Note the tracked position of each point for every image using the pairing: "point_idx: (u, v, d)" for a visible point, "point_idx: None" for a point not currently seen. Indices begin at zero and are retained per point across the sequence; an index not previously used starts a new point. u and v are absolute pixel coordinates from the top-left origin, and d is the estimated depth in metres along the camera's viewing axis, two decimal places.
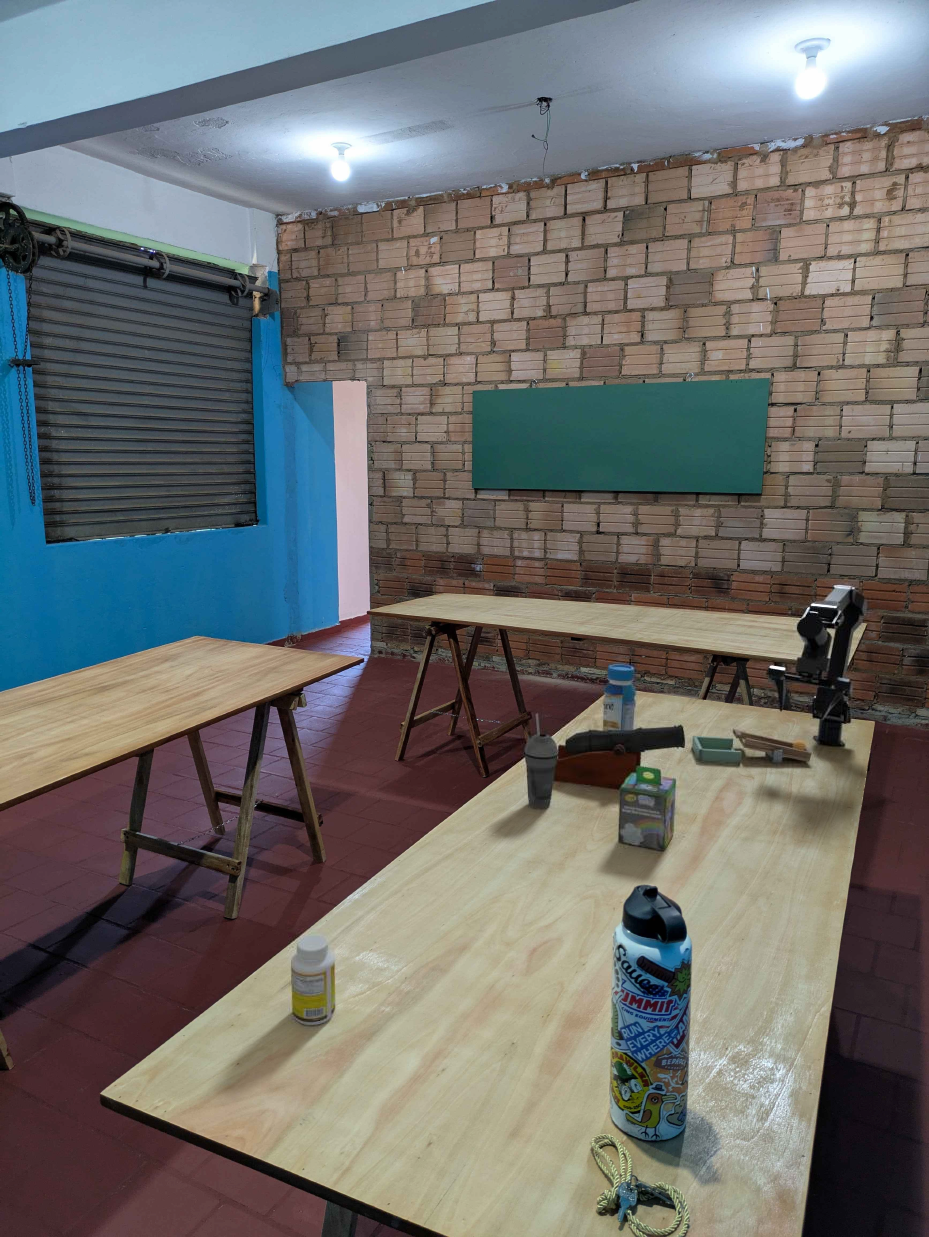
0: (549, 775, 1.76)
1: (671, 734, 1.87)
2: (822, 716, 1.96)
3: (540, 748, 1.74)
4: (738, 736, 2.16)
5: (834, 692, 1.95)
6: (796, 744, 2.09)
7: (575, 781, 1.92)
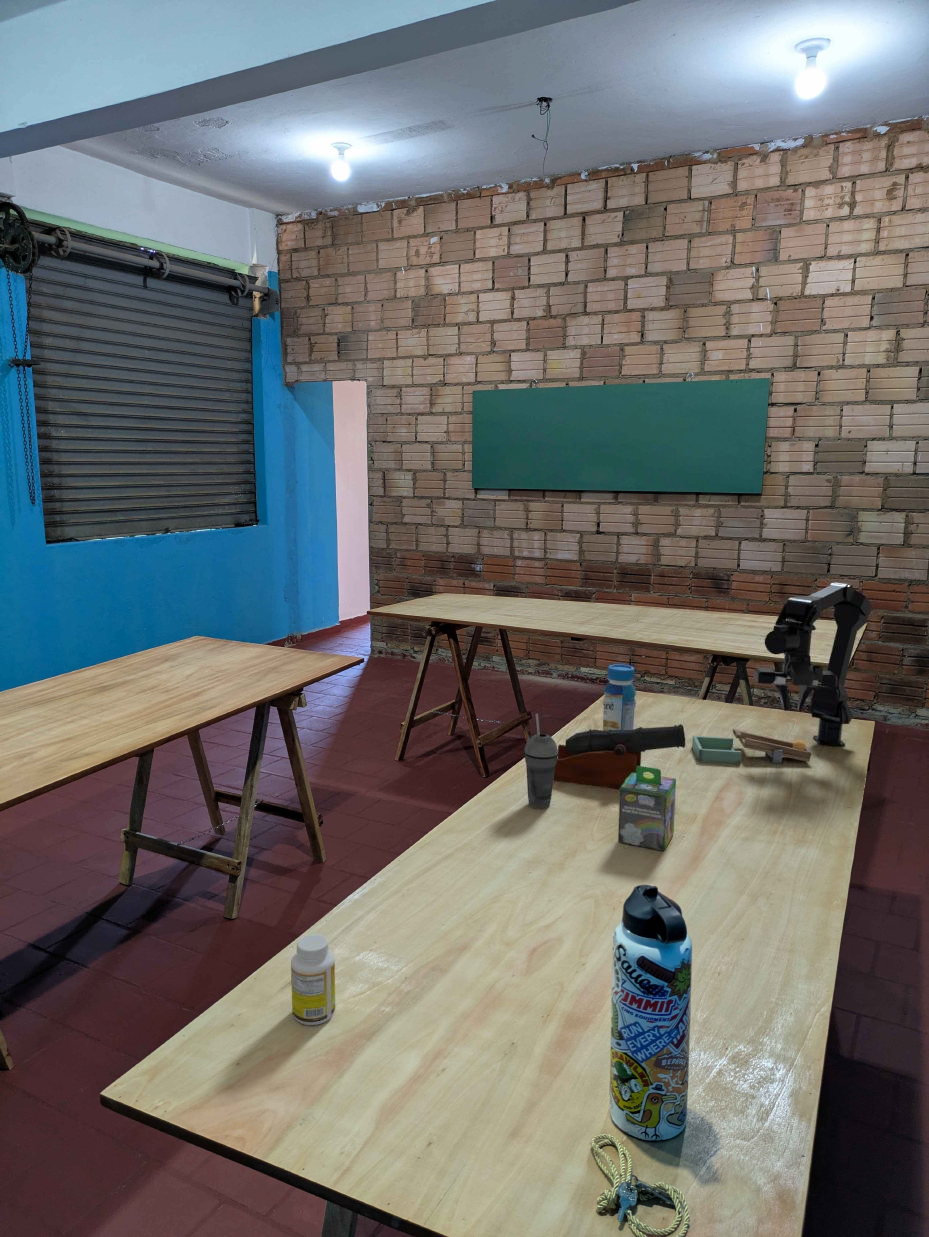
0: (549, 775, 1.76)
1: (672, 734, 1.87)
2: (800, 709, 2.10)
3: (540, 748, 1.74)
4: (738, 736, 2.16)
5: (811, 689, 2.07)
6: (796, 744, 2.09)
7: (576, 781, 1.92)
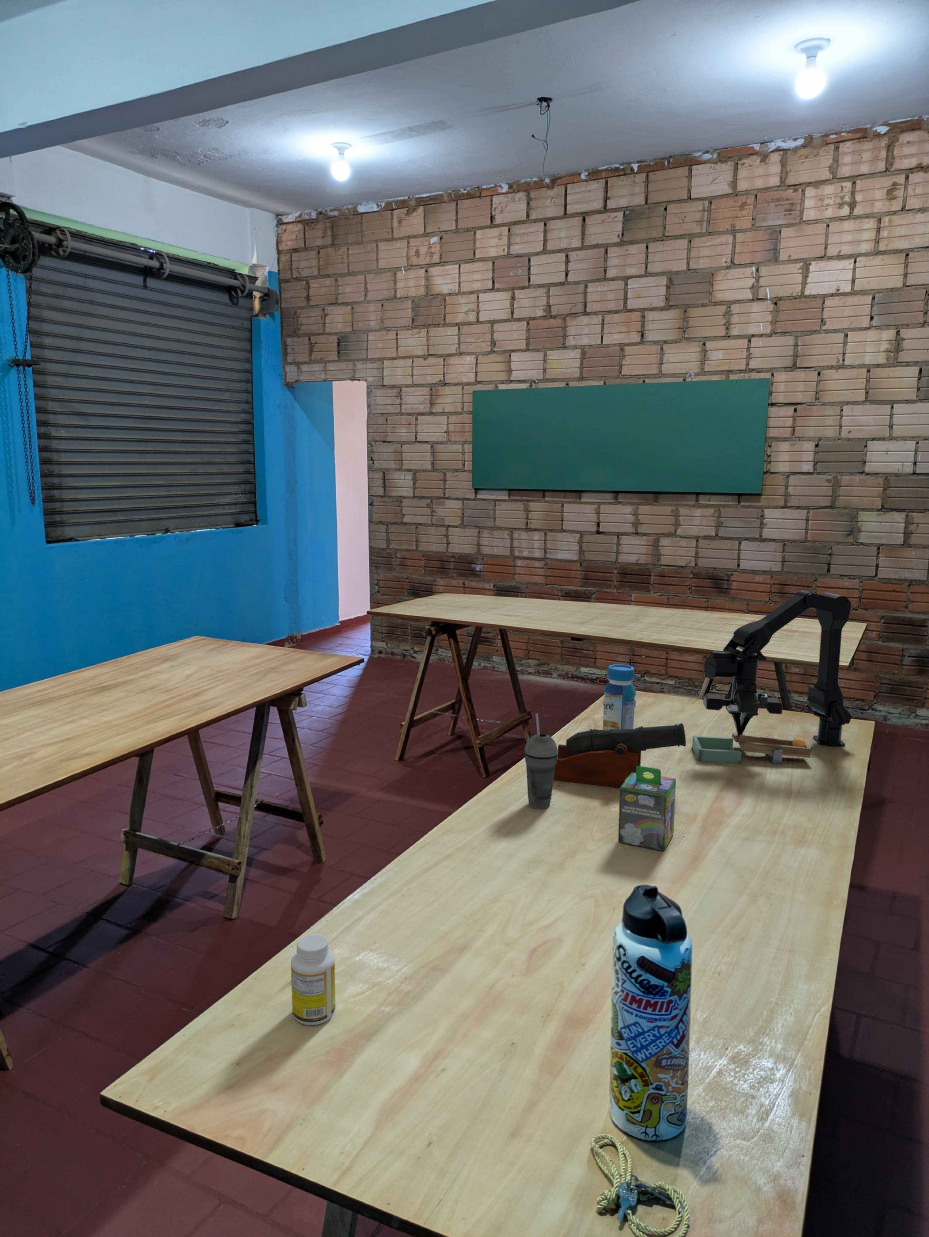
0: (549, 775, 1.76)
1: (673, 733, 1.88)
2: (741, 734, 2.17)
3: (540, 748, 1.74)
4: (737, 740, 2.16)
5: (751, 715, 2.14)
6: (796, 742, 2.09)
7: (577, 781, 1.92)
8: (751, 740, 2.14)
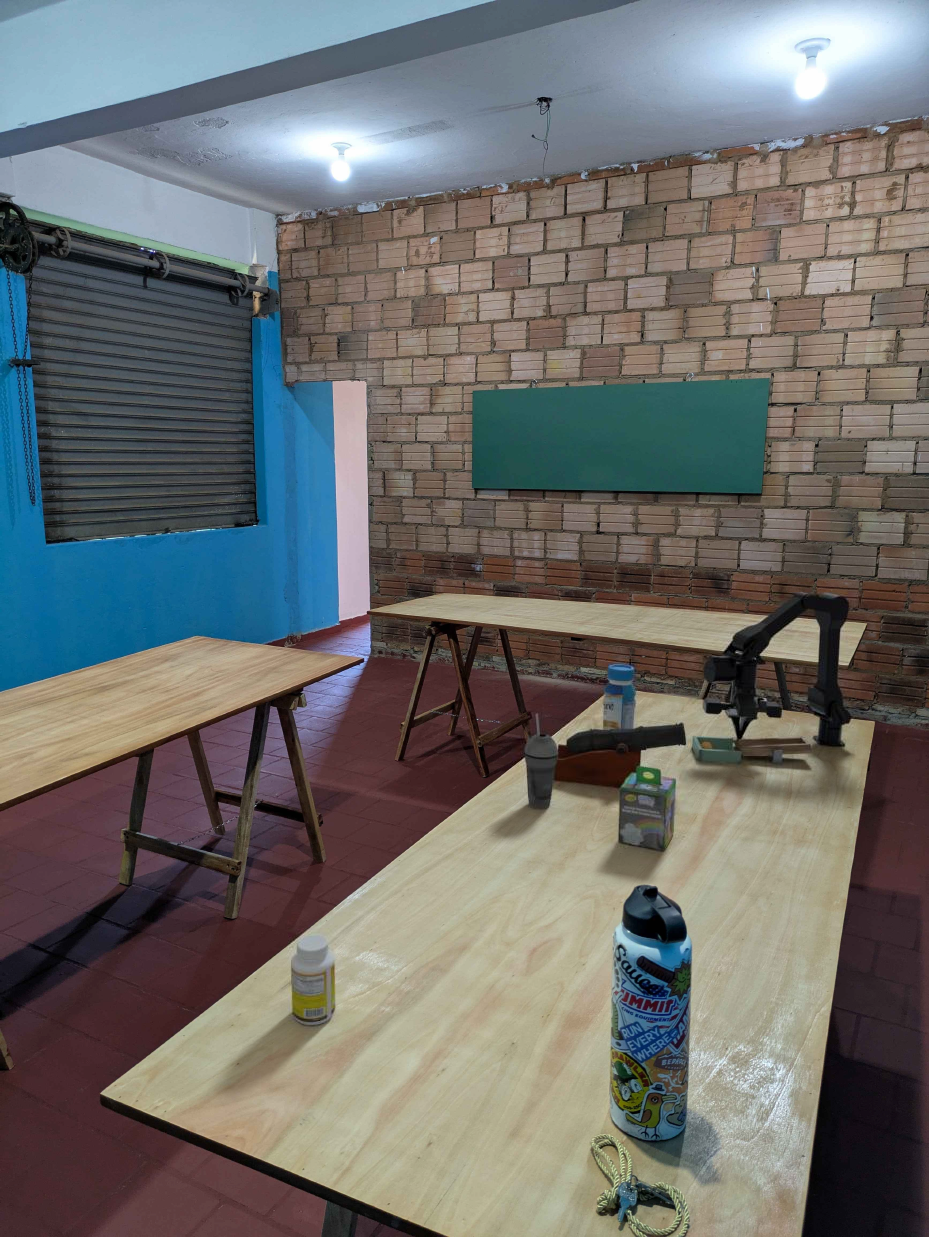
0: (549, 775, 1.76)
1: (673, 732, 1.88)
2: (740, 738, 2.17)
3: (540, 748, 1.74)
4: (737, 744, 2.16)
5: (750, 719, 2.14)
6: None
7: (578, 780, 1.92)
8: (750, 743, 2.14)
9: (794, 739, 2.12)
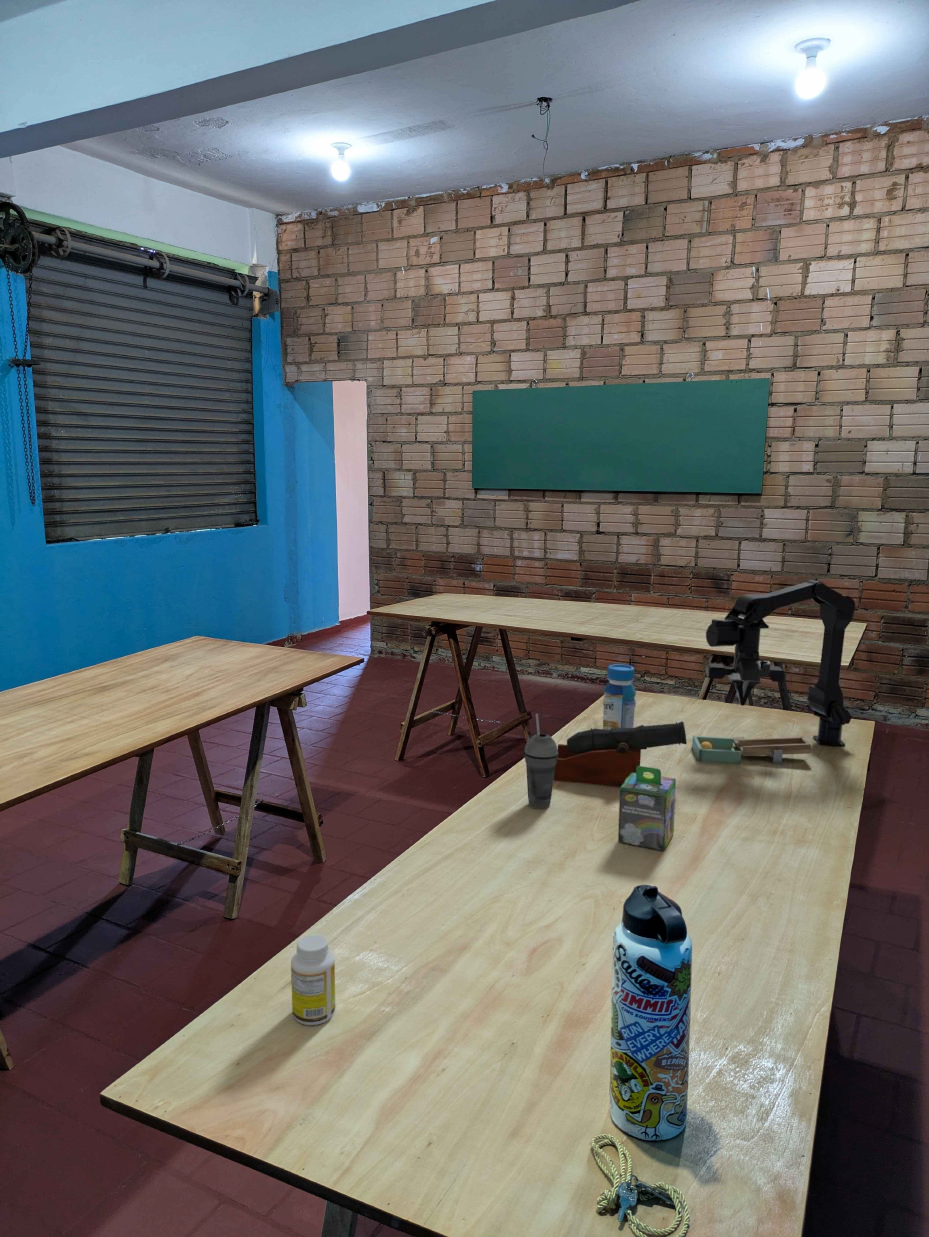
0: (549, 775, 1.76)
1: (674, 731, 1.89)
2: (743, 703, 2.16)
3: (540, 748, 1.74)
4: (737, 744, 2.16)
5: (753, 684, 2.13)
6: None
7: (579, 780, 1.93)
8: (750, 743, 2.14)
9: (794, 739, 2.12)
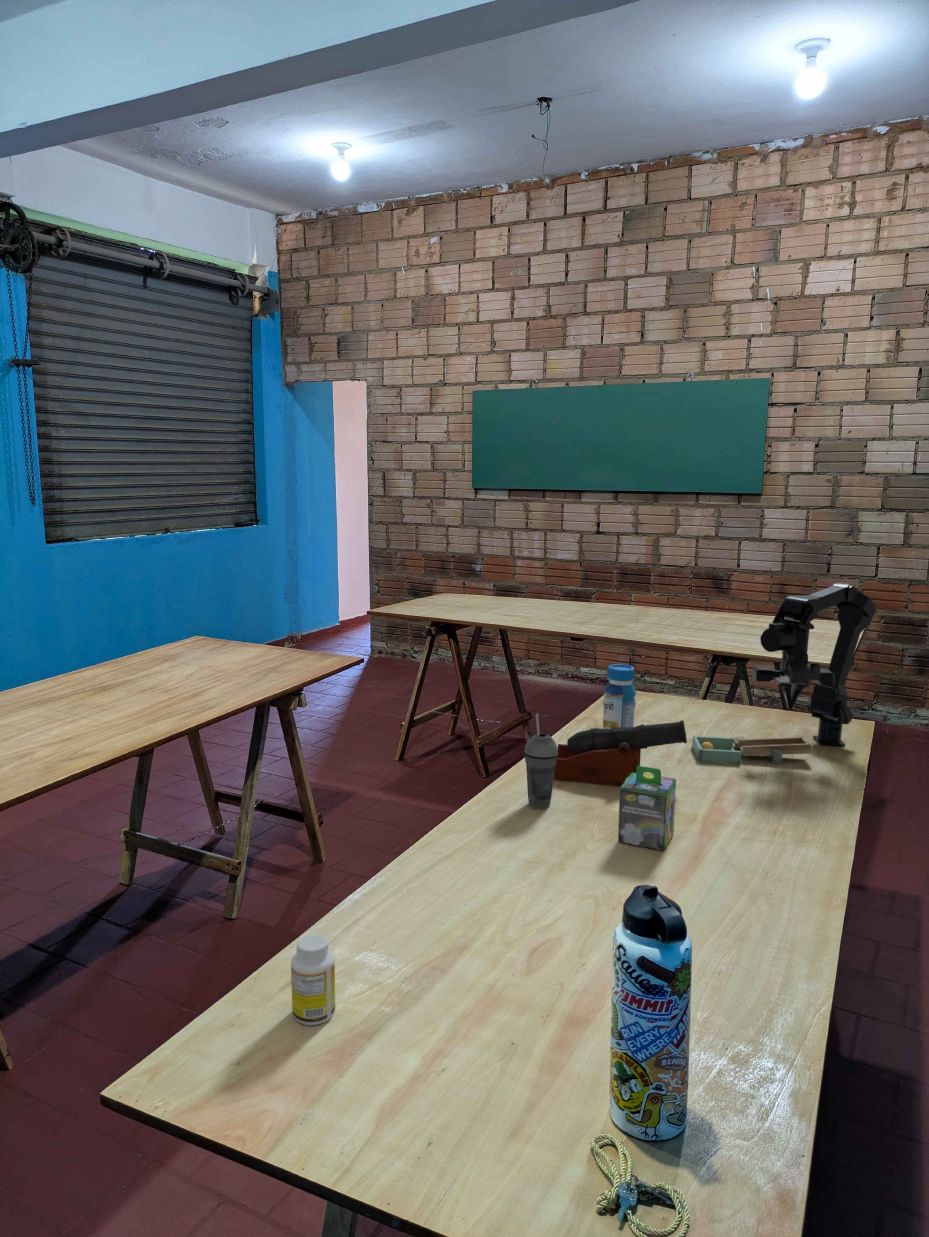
0: (549, 775, 1.76)
1: (674, 730, 1.90)
2: (791, 706, 2.12)
3: (540, 748, 1.74)
4: (737, 744, 2.16)
5: (802, 687, 2.09)
6: None
7: (580, 780, 1.93)
8: (750, 743, 2.14)
9: (794, 739, 2.12)
